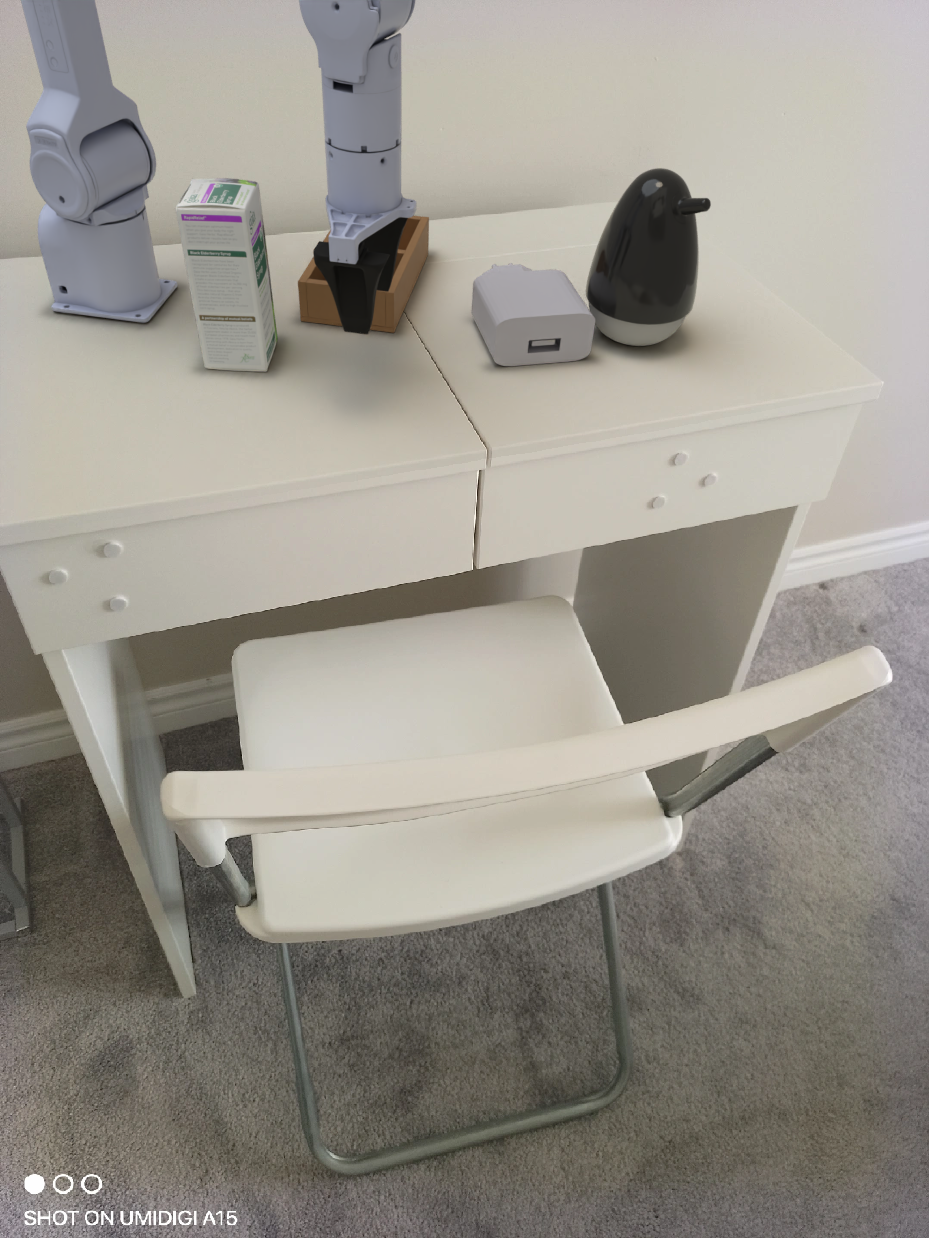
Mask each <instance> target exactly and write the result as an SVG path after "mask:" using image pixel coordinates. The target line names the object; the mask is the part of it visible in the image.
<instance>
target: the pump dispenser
mask: <svg viewBox="0 0 929 1238" xmlns="http://www.w3.org/2000/svg"><path fill="white" fill-rule="evenodd" d="M711 205H712V203H711V200H710V198H708V197H692V194H691V191H690V189H689V186H688V184H687V183H686V181H685V179H684V178H683V177H682V176H681V175H680V174H679V173H677V172H675V171H674V170H671V169H669V168H664V167H656V168H651V169H648V170H645V171H644V172H642V173H640V174H639V175H638V176H637V177H635V178H634V179H633V180H632V182H631V183H630V184H629V185H628V187H627V188H626V189H625V190H624V192H623V193H622V195H621V197H620V198H619V200H618V201H617V203H616V205H615V207H614V208H613V210H612V211H611V214H610V216H609V218H608V220H607V222H606V224H605V226H604V229H603V231H602V233H601V235H600V238H599V240H598V242H597V245H596V247H595V250H594V253H593V254H594V255H593V257H592V260H591V265H590V268H589V271H588V275H587V279H586V283H585V298H586V299H587V303H588V309H589V310H590V312H591V313H592V315H593V316H594V318H595V326H596V327H597V329H598V330H599V331H600V332H601V333H602V334H603V335H604V336H606V337H607V338H608V339H611V340H613V341H614V342H617V343H619V344H623V345H628V346H634V347H645V346H651V345H656V344H658V343H661V342H663V341H665V340H667V339H668V338H671V336H672V335H674V334H675V333H676V332H677V331H678V329H679V328H680V327H681V326H682V325H683V323H684V322H685V319H686V317H687V316H688V315H689V314H690V313H691V311H692V310H693V308H694V305H695V300H696V297H697V296H696V295H697V287H698V279H699V278H698V277H699V263H700V262H699V259H700V258H699V257H700V255H699V254H700V251H699V250H700V247H699V234H698V233H699V231H698V222H697V215H696V214H700V213H705V212H708V211H709V210H710V208H711V207H712V206H711Z"/></svg>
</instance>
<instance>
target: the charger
mask: <svg viewBox="0 0 929 1238" xmlns="http://www.w3.org/2000/svg"><path fill="white" fill-rule="evenodd" d="M471 294H472V295H471V310H470V311H471V312H470V313H471V317H472V319H473V320H474V322H475V325H476V326H477V328H478V331H479V333H480V334H481V337H482V339H483V341H484V343H485V345H486V346H487V349H488V351H489V353H490V355H491V357H492V359H493V361H494V363H496V364H497V365H499V366H503V367H518V366H529V365H530V366H531V365H543V364H554V363H567V362H575V361H576V362H577V361H580V360H583V359H585V358H587V357H588V356H589V355H590V354H591V352H592V345H593V340H594V339H593V338H594V333H595V326H596V324H595V318H594V316H593V315H592V313H591V312H590V310H589V306H587V304H586V302H585V301H584V300H583V298H582V296H581V295H580V294H579V292H578V291H577V289H576V288H575V285H573V283H572V281H571V280H570V278H569V277H568V276H567V274H566V273H565V272H564V271H562V270H559V269H552V268H551V269H534V270H533V269H531V268H529V267H527V266H524V265H522V264H521V263H519V264H513V263H512V262H510V263H508V264H503V265H499V264H498V265H497V264H496V263H493V264H491V268H489V269H488V270H486V271H484V272H483V273H482V274H481V275H479V276H477V277H476V278H474V279H473V282H472V293H471Z"/></svg>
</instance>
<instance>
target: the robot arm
mask: <svg viewBox="0 0 929 1238" xmlns="http://www.w3.org/2000/svg"><path fill="white" fill-rule="evenodd" d="M20 3H21V6H22V7H21V8H22V10H23V14H24V19H25V23H26V26H27V30H28V33H29V39H30V41H31V45H32V49H33V52H34V57H35V60H36V65H37V68H38V69H37V70H38V72H39V73H38V74H39V77H40V81H41V84H42V88H43V89H42V93H41V95H40V97H39V99H38V100H37V103H36V104H35V107H34V108H33V110H32V111H31V114H30V116H29V118H28V119H27V122H26V124H25V125H26V126H25V127H26V131H27V135H28V140H29V144H30V154H29V172H30V175H31V180H32V182H33V185H34V187H35V189H36V190H37V191H36V192H37V193H38V194H39V196H40V197H41V199H42V200H43V201H44V202H45V204H44V205H43V207H42V208H41V210H40V211H39V215H38V221H37V241H38V245H39V250H40V253H41V256H42V259H43V264H44V268H45V271H46V275H47V279H48V282H49V287H50V289H51V293H52V297H53V301H54V302H52V304H51V306H50V307H51V310H52V311H53V312H57V313H65V314H74V315H81V316H87V317H88V316H89V317H96V318H104V319H105V318H106V319H112V320H120V321H128V322H134V323H135V322H137V323H143V324H145V323H148V322H149V321H151V319H152V318H153V317H154V315H156V313H157V312H158V310H159V309H160V308H161V307H162V306H163V304H164V303H165V302H166V301H167V300H168V299H169V297H170V296H171V295H172V294H173V292H174V291H175V290H176V288H177V287H178V282H177V281H176V280H172V279H166V278H165V279H164V278H160V277H159V271H158V266H157V260H156V254H155V250H154V249H155V248H154V244H153V239H152V234H151V233H152V232H151V228H150V223H149V218H148V212H147V207H146V200H148V199H149V198H150V193H149V190H148V185H149V184H150V183H151V182H152V181H153V179H154V178H155V176H156V173H157V172H156V171H157V157H156V153H155V152H156V151H155V149H154V147H153V144H152V141H151V140H150V138H149V136H148V134H147V133H146V131H145V129H144V127H143V125H142V122H141V118H140V114H139V109H138V105H137V103H136V102H135V101H134V100H133V99H132V98H130V97H129V96H127V95H126V94H125V93H124V92H122V91H120V90H119V88H117V87H116V86H115V85H114V84H113V80H112V74H111V71H110V70H111V69H110V66H109V61H108V56H107V51H106V46H105V42H104V41H105V40H104V37H103V32H102V27H101V22H100V18H99V13H98V8H97V4H96V0H20ZM298 3H299V10H300V15H301V17H302V20H303V22H304V26H305V27H306V29H307V31H308V33H309V35H310V36H311V38H312V39H313V42H314V44H315V46H316V50H317V62H318V68H320V73H321V75H320V76H321V91H322V93H321V94H322V95H321V96H322V112H323V130H324V131H323V132H324V150H325V151H324V152H325V168H326V187H327V189H326V190H327V194H326V196H325V210H326V216H327V220H328V224H329V229H330V230H331V232H330V234H329V236H328V237H329V242H323V241H321V240H318V242H317V244H316V245H315V247H314V249H313V251H312V253H313V254H312V255H313V256H314V262H315V265H316V266H317V267H318V269H319V270H320V271H321V273H322V274H323V276H324V278H325V279H326V281H327V283H328V285H329V287H330V289H331V292H332V294H333V297H334V301H335V304H336V307H337V310H338V314H339V317H340V321H341V324H342V326H341V327H342V330H343V331H344V333H353V334H359V335H369V333H370V331H371V330H370V328H371V325H372V320H373V314H374V306H375V297H376V291H377V290H379V291H387V292H388V291H389V289H390V286H391V283H392V279H393V274H394V269H395V263H396V257H397V252H398V247H399V243H400V239H401V236H402V233H403V230H404V227H405V224H406V222H407V219H408V218H410V217H412V216H415V213H416V211H417V200H415V199H412V198H406V197H404V196H403V194H402V138H403V137H402V125H403V124H402V122H403V121H402V120H403V119H402V118H403V117H402V110H403V109H402V106H403V105H402V102H403V101H402V95H403V93H402V87H403V85H402V79H403V78H402V74H403V73H402V33H401V32H399V31H400V30H402V29H403V28H404V27H405V26H406V25H407V24H408V22H409V21H410V20H411V18H412V15H413V13H414V10H415V6H416V0H298ZM398 32H399V33H398ZM330 230H329V231H330Z"/></svg>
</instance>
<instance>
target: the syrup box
mask: <svg viewBox="0 0 929 1238" xmlns="http://www.w3.org/2000/svg"><path fill="white" fill-rule="evenodd" d="M260 190H261V189H260V183H259V182H257V181H253V180H247V179H240V178H229V177H228V178H227V177H209V178H208V177H207V178H191V179H190V183H189V185H188V186H187V188H186V189H185V191H184V192H183V193H182V195H181V196H180V199H179V201H178V202H177V204H176V206H175V208H174V210H175V215H176V219H177V220H176V221H177V226H178V232H179V237H180V238H179V239H180V243H181V248H182V254H183V259H184V265H185V270H186V276H187V281H188V287H189V293H190V297H191V303H192V308H193V309H192V310H193V313H194V319H195V320H194V321H195V325H196V330H197V336H198V342H199V346H200V351H201V357H202V363H203V367H204V368H205V369H209V370H218V371H219V370H220V371H232V372H233V371H235V372H268V369H269V366H270V363H271V361H272V358H273V355H274V351H275V348H276V346H277V342H278V339H279V337H278V332H277V321H276V315H275V313H276V312H275V307H274V306H275V305H274V298H273V288H272V283H271V282H272V281H271V280H272V279H271V272H270V264H269V255H268V247H267V239H266V232H265V231H266V230H265V223H264V216H263V208H262V206H263V205H262V198H261V191H260Z"/></svg>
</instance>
